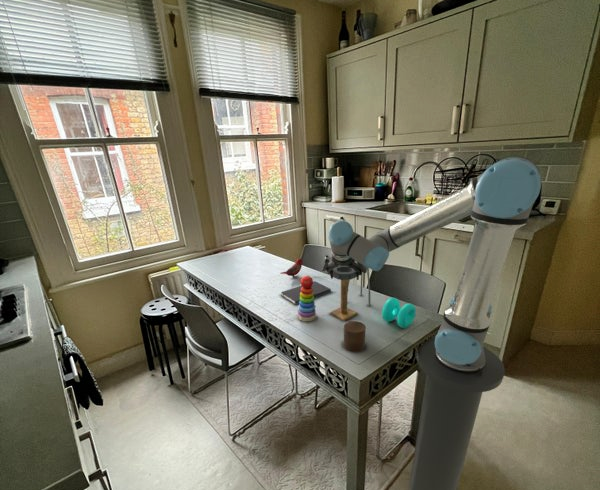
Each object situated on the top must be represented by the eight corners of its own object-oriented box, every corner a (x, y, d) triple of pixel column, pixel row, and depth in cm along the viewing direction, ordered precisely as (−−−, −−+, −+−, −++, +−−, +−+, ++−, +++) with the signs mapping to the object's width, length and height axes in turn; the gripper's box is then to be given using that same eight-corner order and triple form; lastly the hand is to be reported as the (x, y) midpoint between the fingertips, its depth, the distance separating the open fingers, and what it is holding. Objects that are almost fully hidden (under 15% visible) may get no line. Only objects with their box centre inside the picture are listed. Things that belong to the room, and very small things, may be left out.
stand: (369, 345, 114) (370, 326, 111) (355, 354, 110) (356, 335, 106) (353, 337, 119) (353, 318, 116) (339, 345, 115) (339, 326, 112)
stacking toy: (313, 323, 129) (312, 281, 122) (295, 320, 132) (292, 279, 124) (318, 314, 136) (318, 274, 128) (301, 311, 139) (299, 272, 131)
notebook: (295, 304, 145) (330, 291, 156) (295, 301, 144) (330, 288, 155) (280, 295, 155) (315, 283, 165) (280, 292, 154) (314, 281, 165)
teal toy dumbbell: (393, 314, 133) (395, 293, 129) (415, 323, 126) (418, 301, 122) (379, 323, 127) (381, 301, 123) (401, 333, 120) (404, 310, 116)
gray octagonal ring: (361, 275, 127) (361, 269, 126) (345, 281, 121) (345, 275, 120) (343, 269, 134) (343, 263, 133) (327, 275, 128) (327, 269, 127)
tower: (357, 314, 135) (358, 280, 128) (344, 321, 130) (345, 285, 123) (343, 308, 140) (343, 274, 134) (330, 314, 136) (330, 280, 129)
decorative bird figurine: (305, 274, 177) (304, 257, 173) (282, 284, 166) (281, 266, 162) (301, 273, 179) (301, 256, 175) (278, 283, 168) (277, 265, 164)
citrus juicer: (361, 295, 151) (363, 233, 139) (377, 301, 144) (382, 238, 132) (344, 302, 145) (346, 239, 132) (361, 310, 138) (364, 244, 125)
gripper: (309, 260, 111) (317, 283, 132) (375, 263, 107) (372, 286, 127) (312, 241, 114) (319, 266, 134) (376, 243, 109) (373, 269, 130)
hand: (344, 276), depth 131 cm, fingers closed on gray octagonal ring, 10 cm apart
